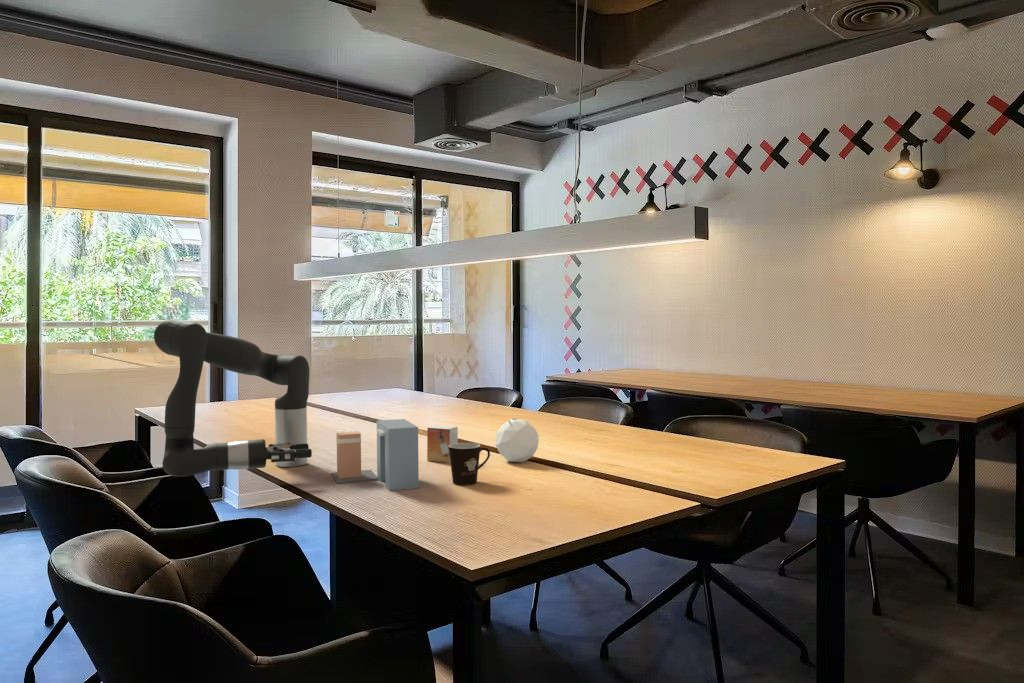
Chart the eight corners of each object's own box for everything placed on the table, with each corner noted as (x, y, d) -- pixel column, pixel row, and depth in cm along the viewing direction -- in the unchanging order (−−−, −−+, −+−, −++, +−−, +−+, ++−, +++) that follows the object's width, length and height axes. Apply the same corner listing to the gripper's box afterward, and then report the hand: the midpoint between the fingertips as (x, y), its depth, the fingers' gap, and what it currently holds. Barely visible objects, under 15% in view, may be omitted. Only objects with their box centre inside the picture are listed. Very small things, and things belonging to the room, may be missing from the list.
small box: (426, 461, 224) (426, 427, 223) (435, 458, 229) (435, 424, 229) (450, 463, 221) (449, 428, 220) (458, 459, 226) (457, 426, 226)
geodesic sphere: (527, 450, 211) (536, 409, 218) (483, 447, 215) (493, 407, 223) (539, 471, 222) (547, 432, 229) (497, 468, 227) (506, 430, 234)
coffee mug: (449, 486, 190) (449, 449, 190) (447, 479, 199) (447, 443, 199) (493, 485, 192) (493, 447, 192) (489, 477, 201) (489, 442, 200)
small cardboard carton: (336, 475, 202) (336, 432, 202) (358, 473, 205) (358, 431, 204) (339, 478, 199) (338, 435, 198) (361, 476, 201) (360, 433, 200)
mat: (331, 474, 206) (331, 472, 206) (370, 471, 210) (370, 469, 210) (337, 483, 195) (337, 481, 195) (378, 480, 199) (378, 478, 199)
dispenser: (374, 478, 201) (373, 420, 201) (404, 475, 204) (404, 418, 204) (385, 491, 186) (384, 429, 186) (418, 488, 189) (418, 427, 189)
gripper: (247, 445, 185) (312, 440, 191) (245, 436, 198) (307, 432, 204) (247, 474, 185) (313, 469, 191) (246, 463, 198) (307, 458, 204)
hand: (309, 450), depth 198 cm, fingers open, 8 cm apart
